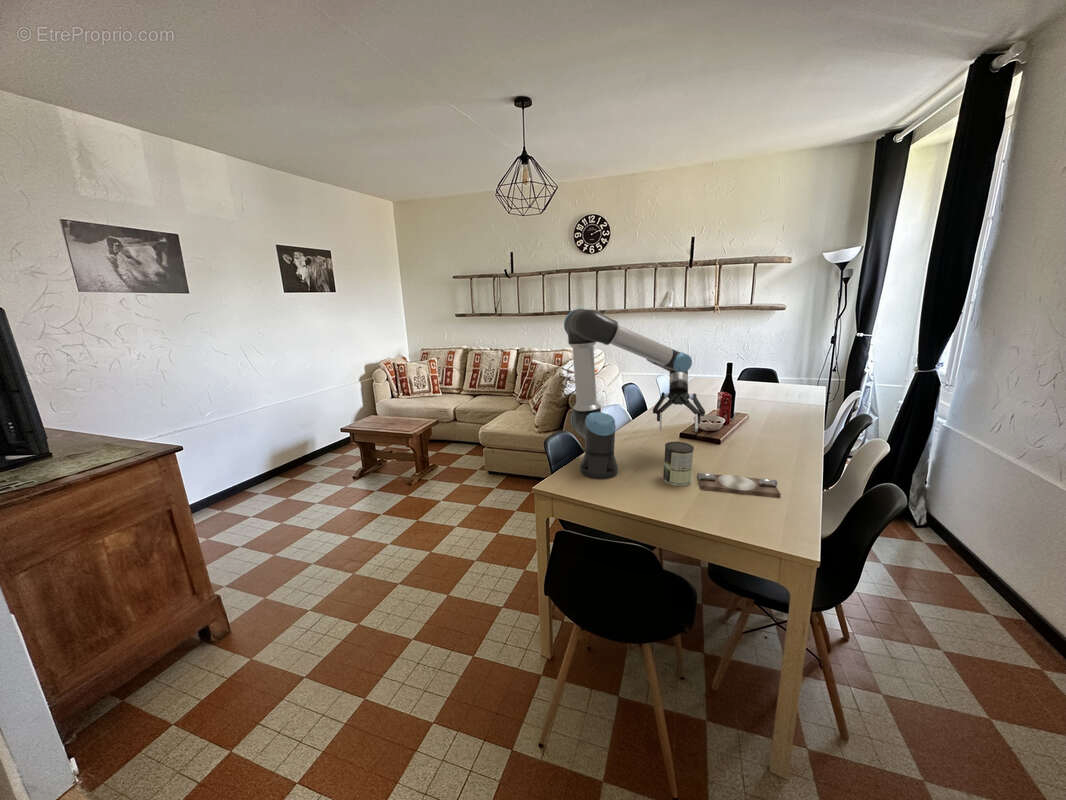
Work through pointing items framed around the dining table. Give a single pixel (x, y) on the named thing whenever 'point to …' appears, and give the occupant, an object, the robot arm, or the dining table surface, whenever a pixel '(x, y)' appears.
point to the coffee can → (678, 463)
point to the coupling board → (738, 485)
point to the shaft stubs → (761, 481)
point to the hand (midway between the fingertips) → (678, 429)
